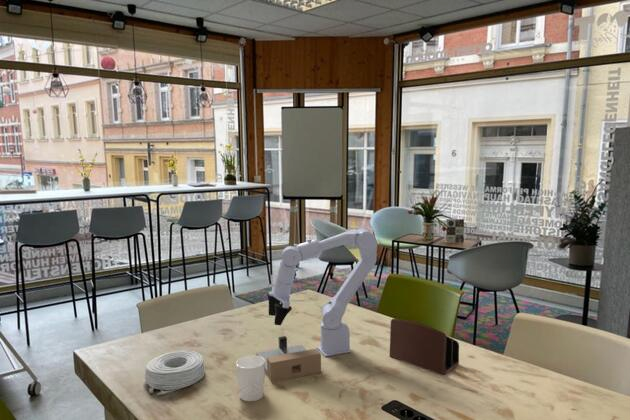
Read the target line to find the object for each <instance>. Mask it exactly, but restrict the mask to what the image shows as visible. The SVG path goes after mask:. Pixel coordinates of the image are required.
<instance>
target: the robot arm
mask: <svg viewBox="0 0 630 420" xmlns="http://www.w3.org/2000/svg"><path fill="white" fill-rule="evenodd" d="M344 245H347V246H350V247H353V248H355V247H356V246H357V248H358V253H359V255H360V259H359V260H358V261H357V263H356V264H355V266H354V267H353V269H352V270H351V272H350V273H349V275H348V276H347V278H346V279H345V281H344V282H343V283H342V285H341V286H340V288H339V289H338V291H337V293H336V294H335V295H334V296H332V297H331V298H330V299H329V301H328V302H326V303H325V304H323V305H322V307H321V311H320V312H321V317H322V321H321V322H320V345H317V346H316V349H317V350H318V351H319V352H320V353H321V355H323V356H324V357H331V356H335V355H341V354H342V355H343V354H346V353H347V354H348V353H351V349H350V348H351V345H350V341H351V340H350V338H351V335H350V329H349V326H348V324H347V323H346V322H343V321H342V318H343V317H344V314H345V313H346V309H347V306H348V305H349V303H350V301H352V298H354V295H355V294H356V293H357V291H358V290H359V288H360V287H361V286H362V284H363V283H364V281H365V279H366V278H367V276H368V275H369V274H370V272H371V271H372V269H373V267H375V266H376V263H377V257H378V256H377V253H378V251H377V250H378V242H377V238H376V236H375V235H374V234H373V233H372V232H371V231H370V229H369V228H367V227H364V226H362V227H358V228H357V229H356V228H355V229H354V228H353V229H349V230H347V231H344V232H341V233H339V234H337V235H333V236H331V237H328V238H327V237H326V238H325V239H323V240H317V239H315V238H314V239H312V238H308V239H307V241H304V242H302V243H299V244H297V243H294V244H293V246H292V245H289V246H286V247H284V249H283V250H282V252H281V260H280V263H279V267H278V269H277V274H276V278H275V282H274V285H273V286H272V287H271V291H269V292H268V293H267V294H266V295H267V299H268V316H272V317H273V316H274V320H273V321H274V325H275V326H282V324H283V322H284V320H285V318H286V317H287V315H288V314H289V313H290V312H291V311H292V306H290V305H291V301H290V299H291V298H290V297H291V296H290V295H291V291H292V287H293V282H294V279H295V275H296V268H297V266H298V265H299V263H300V262H304V261H308V260H310V259H314V258H316V257H320V256H321V254H322V252H323V251H326V250H329V249H333V248H338V247H340V246H344ZM342 322H343V323H342Z"/></svg>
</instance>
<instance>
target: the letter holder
mask: <svg viewBox="0 0 630 420" xmlns="http://www.w3.org/2000/svg"><path fill="white" fill-rule="evenodd" d="M389 333H390V334H389V335H390V336H389V357H390V358H393V359H396V360H399V361H401V362H405V363H408V364H409V365H413V366H415V367H418V368H421V369H424V370H427V371H430V372H433V373H435V374H438V375H441V376H446V375H447V374H449V372H451V371H452V370H454V369H455V368H456V367H457V366H459V364H460V344H459V341H457V340H455V339H454V338H451V337H449V336H448V335H447V334H446V333H445V332H444V331H442V330H438V329H436V328H434V327H432V326H429V325H426V324H423V323H419V322H417V321H412V320H406V319H399V318H392V319H391V320H390V332H389Z"/></svg>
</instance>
